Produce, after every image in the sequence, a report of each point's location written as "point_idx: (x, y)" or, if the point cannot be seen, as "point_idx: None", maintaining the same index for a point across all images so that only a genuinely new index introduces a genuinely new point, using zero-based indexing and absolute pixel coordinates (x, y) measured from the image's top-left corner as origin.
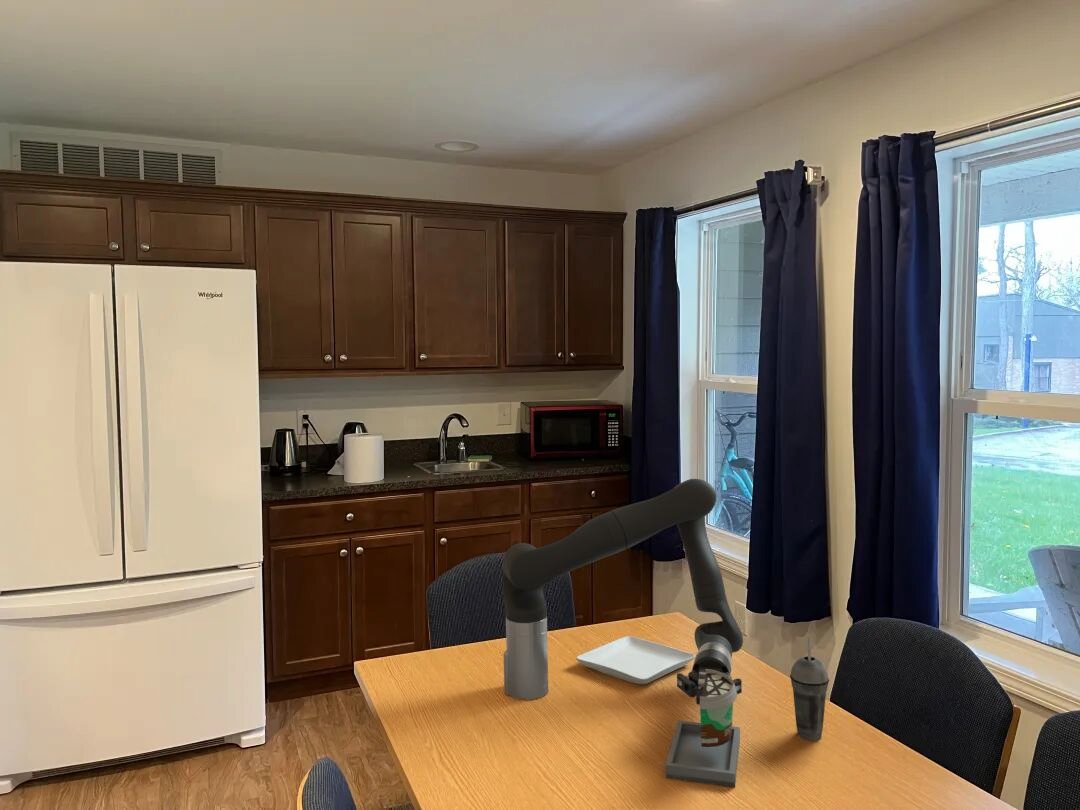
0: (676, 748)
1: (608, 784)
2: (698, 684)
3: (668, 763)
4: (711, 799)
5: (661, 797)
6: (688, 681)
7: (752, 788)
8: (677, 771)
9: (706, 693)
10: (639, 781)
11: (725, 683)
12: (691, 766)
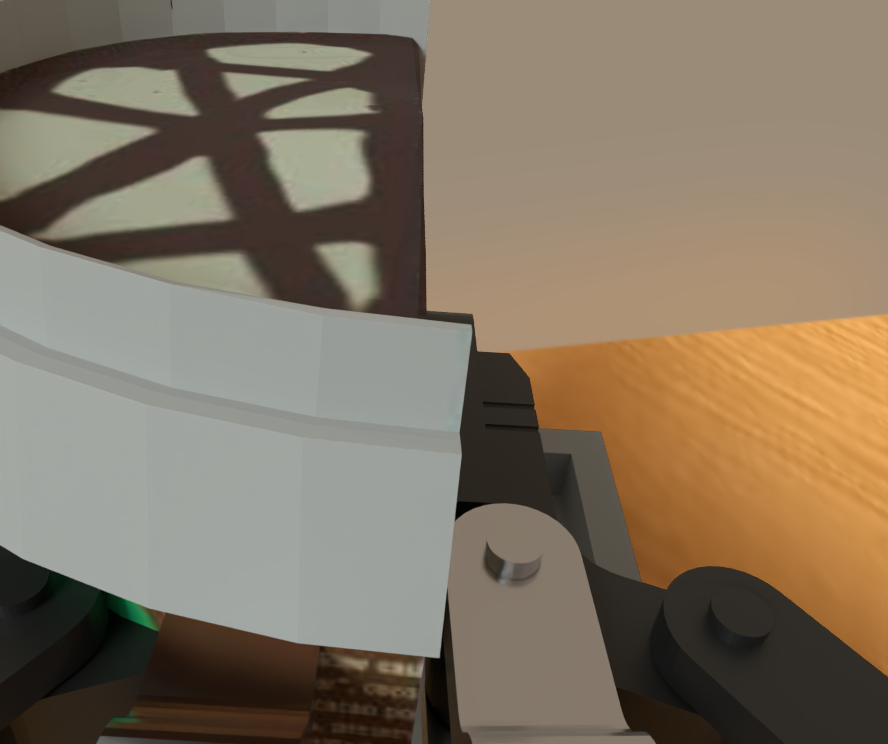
0: None
1: (825, 413)
2: (589, 613)
3: (588, 445)
4: None
5: (550, 367)
6: (879, 731)
7: None
8: None
9: (367, 82)
10: (703, 451)
11: (4, 194)
12: None
